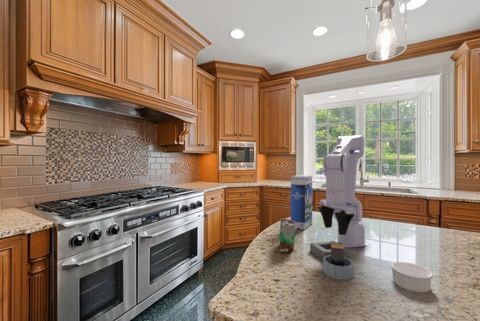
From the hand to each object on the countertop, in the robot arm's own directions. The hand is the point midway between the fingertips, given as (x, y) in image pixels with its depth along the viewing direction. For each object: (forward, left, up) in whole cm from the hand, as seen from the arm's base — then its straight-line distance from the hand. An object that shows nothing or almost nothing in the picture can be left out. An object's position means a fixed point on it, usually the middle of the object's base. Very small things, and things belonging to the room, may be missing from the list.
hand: (335, 230), depth 76 cm
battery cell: (+5, +8, -9) cm, 13 cm away
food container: (+11, -12, -10) cm, 19 cm away
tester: (0, -4, -10) cm, 10 cm away
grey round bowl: (+5, +8, -10) cm, 13 cm away
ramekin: (-10, +18, -10) cm, 23 cm away
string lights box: (-9, -40, -10) cm, 42 cm away
